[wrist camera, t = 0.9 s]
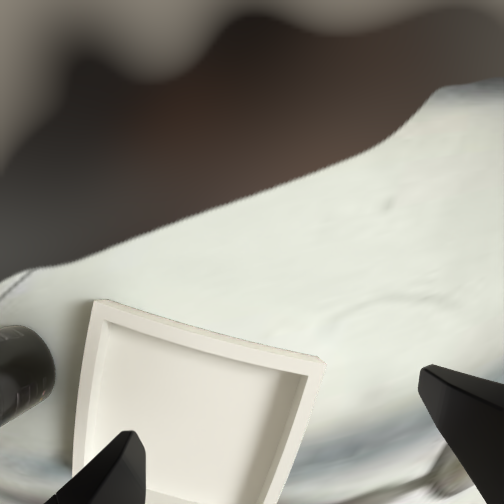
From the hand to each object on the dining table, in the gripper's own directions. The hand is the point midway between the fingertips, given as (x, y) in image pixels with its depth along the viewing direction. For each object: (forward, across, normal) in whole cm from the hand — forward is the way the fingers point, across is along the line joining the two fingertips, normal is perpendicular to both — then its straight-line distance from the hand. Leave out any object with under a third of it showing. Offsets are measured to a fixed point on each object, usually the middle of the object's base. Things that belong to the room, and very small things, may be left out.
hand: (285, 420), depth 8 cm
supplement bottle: (+14, +20, +4) cm, 24 cm away
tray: (+12, +7, +10) cm, 17 cm away
